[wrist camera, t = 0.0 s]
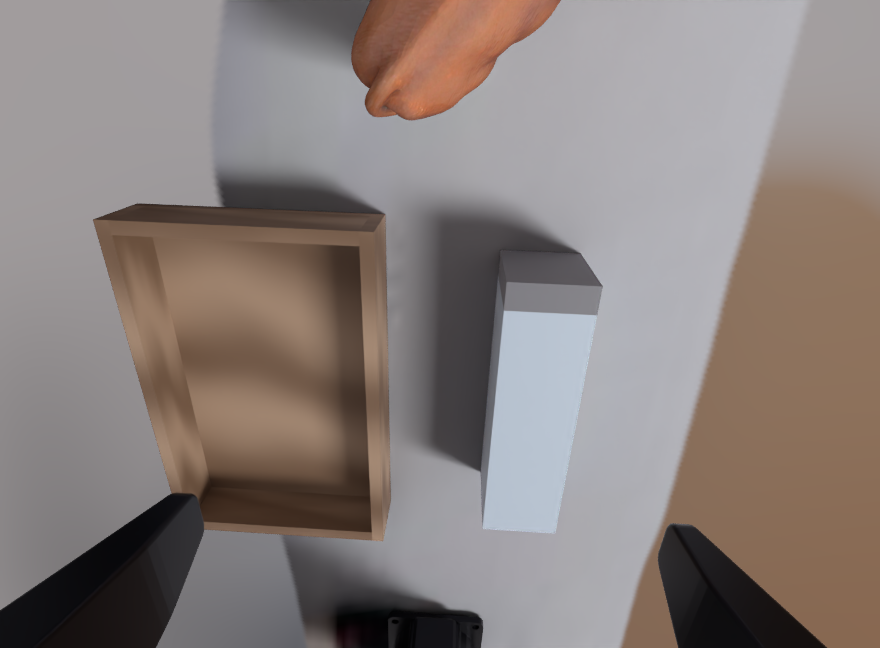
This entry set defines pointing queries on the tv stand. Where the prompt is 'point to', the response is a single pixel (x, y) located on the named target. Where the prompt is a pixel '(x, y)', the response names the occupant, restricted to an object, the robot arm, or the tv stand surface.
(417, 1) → the bull figurine
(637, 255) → the tv stand surface
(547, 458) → the long pale blue block
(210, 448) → the open brown box
